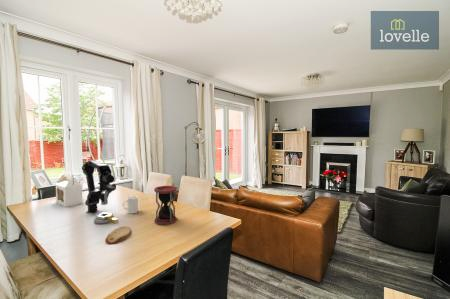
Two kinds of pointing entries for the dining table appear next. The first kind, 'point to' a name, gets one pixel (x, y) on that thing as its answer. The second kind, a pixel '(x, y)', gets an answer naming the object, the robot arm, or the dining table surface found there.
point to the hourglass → (165, 205)
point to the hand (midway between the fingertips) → (104, 201)
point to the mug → (132, 204)
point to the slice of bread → (118, 235)
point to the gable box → (68, 190)
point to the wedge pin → (105, 199)
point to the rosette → (105, 218)
